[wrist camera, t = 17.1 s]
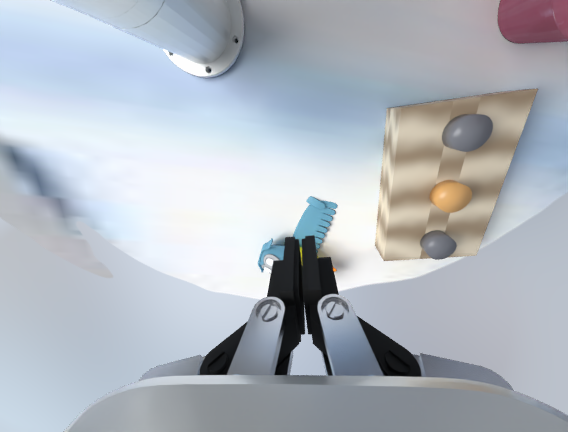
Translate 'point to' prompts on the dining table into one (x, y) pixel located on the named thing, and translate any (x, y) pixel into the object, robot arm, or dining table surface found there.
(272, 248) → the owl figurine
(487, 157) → the console
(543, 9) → the plant pot
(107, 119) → the dining table surface
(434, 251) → the knob
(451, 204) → the knob mid
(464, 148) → the knob
